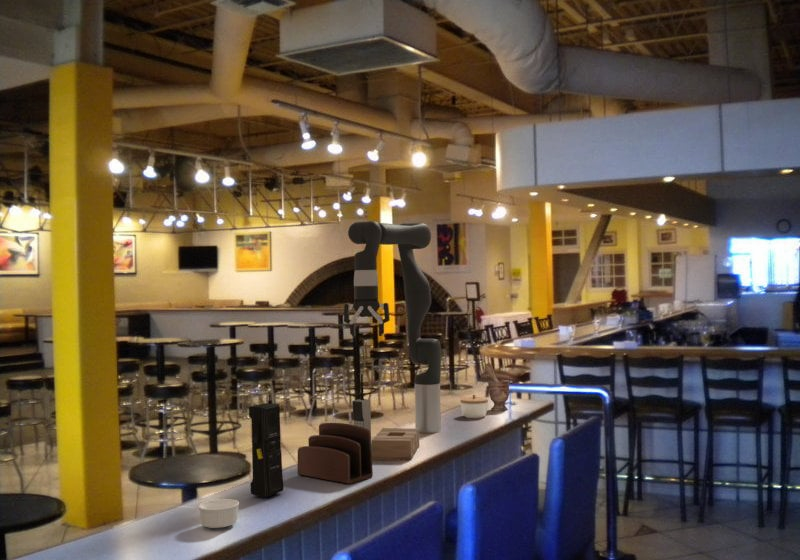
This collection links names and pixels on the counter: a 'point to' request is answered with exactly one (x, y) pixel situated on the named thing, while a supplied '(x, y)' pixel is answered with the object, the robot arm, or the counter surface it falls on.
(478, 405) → the lidded jar
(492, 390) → the mortar and pestle
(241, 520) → the counter surface
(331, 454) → the letter holder
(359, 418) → the vintage mobile phone
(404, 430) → the walnut dock rack
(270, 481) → the portable radio
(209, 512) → the ramekin
